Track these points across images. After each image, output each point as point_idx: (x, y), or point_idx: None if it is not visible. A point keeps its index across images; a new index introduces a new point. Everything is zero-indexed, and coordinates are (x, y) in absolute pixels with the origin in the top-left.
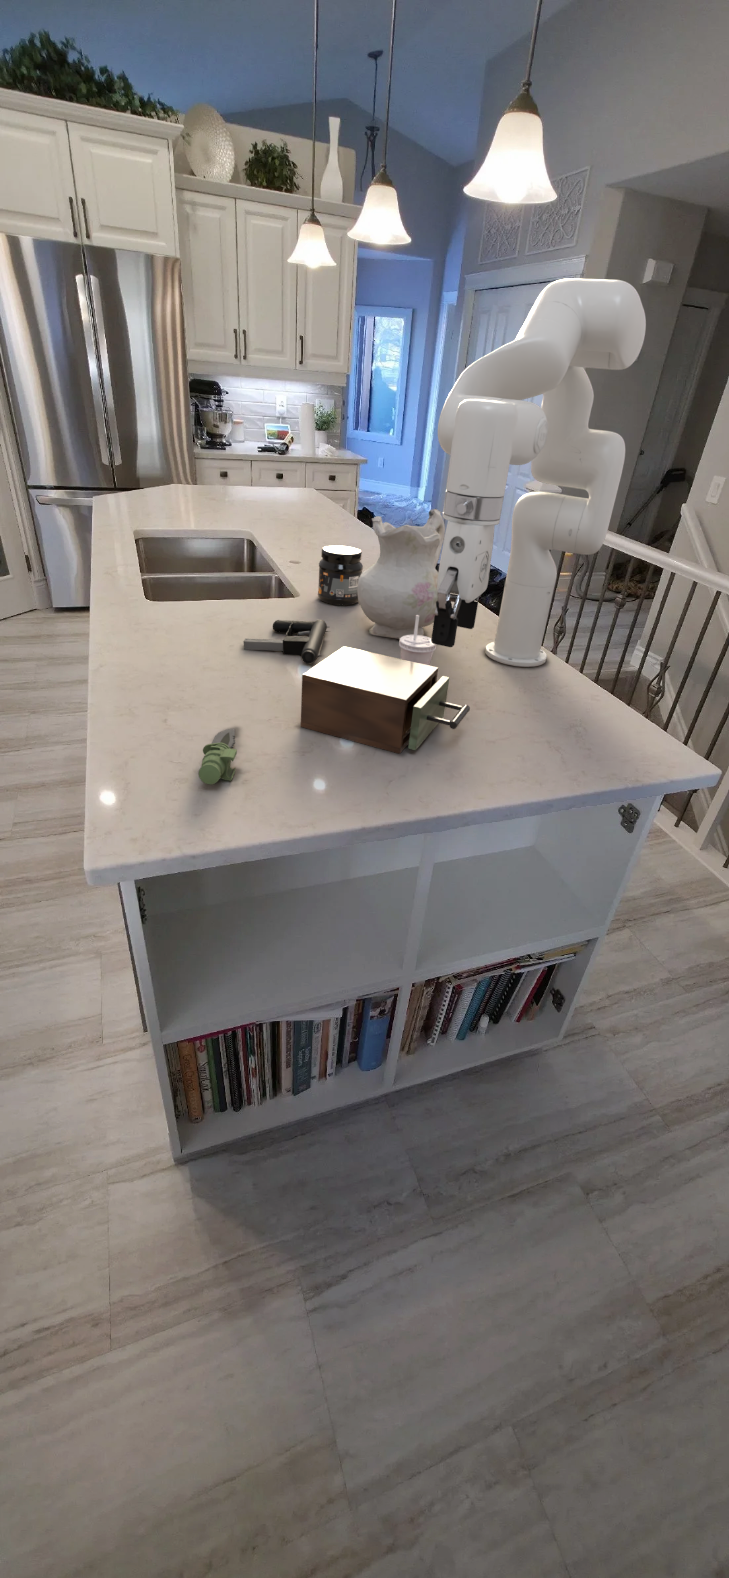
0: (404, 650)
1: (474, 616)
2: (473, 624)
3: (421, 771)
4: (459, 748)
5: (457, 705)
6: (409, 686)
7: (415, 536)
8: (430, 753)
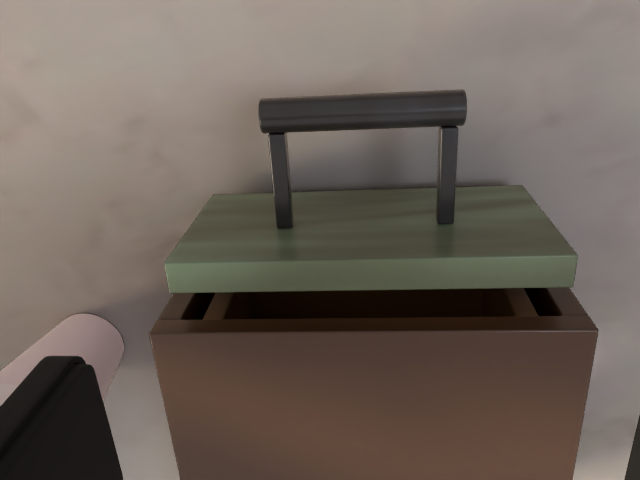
0: None
1: (12, 434)
2: (56, 376)
3: (612, 120)
4: (378, 64)
5: (276, 155)
6: (442, 364)
7: None
8: (470, 140)
